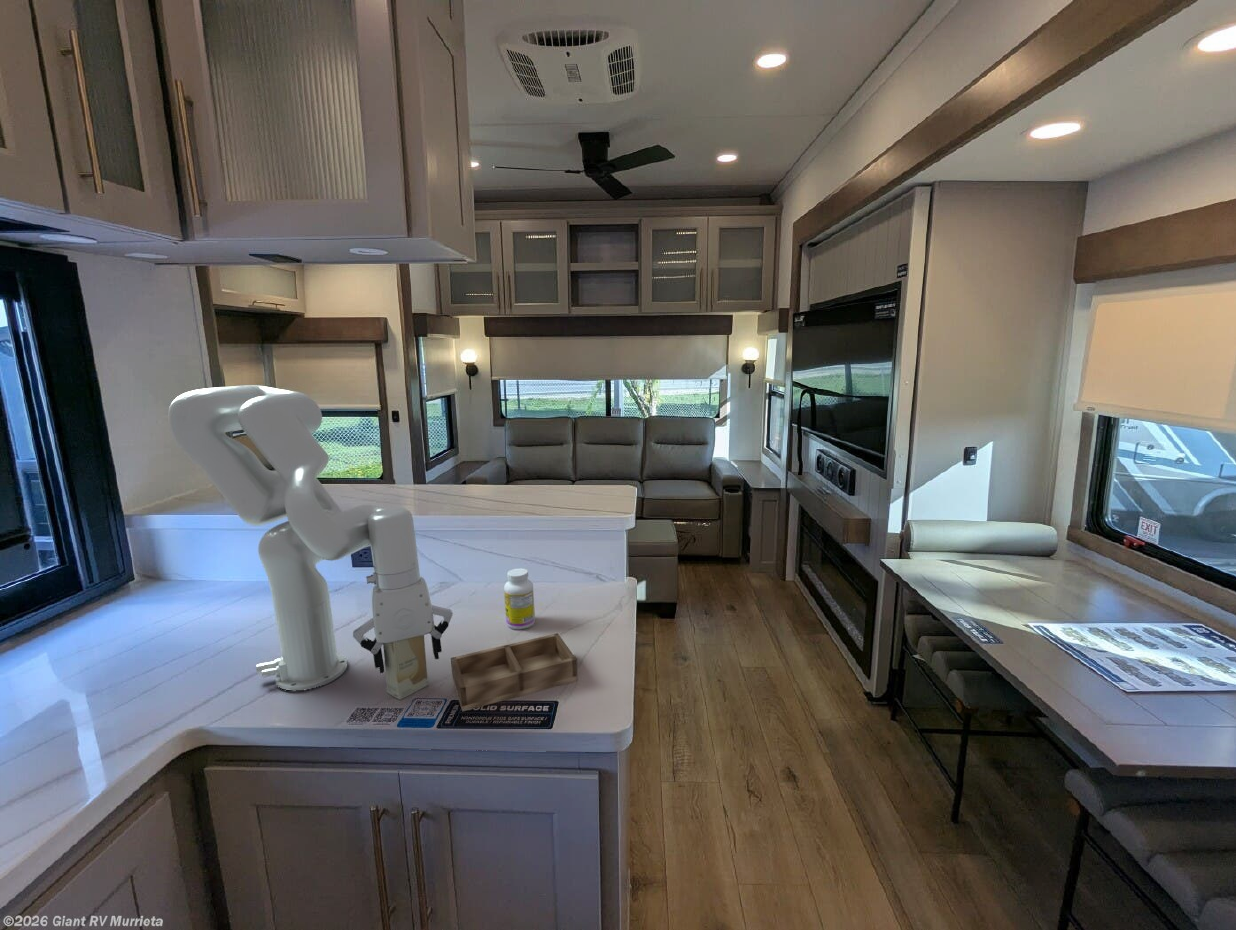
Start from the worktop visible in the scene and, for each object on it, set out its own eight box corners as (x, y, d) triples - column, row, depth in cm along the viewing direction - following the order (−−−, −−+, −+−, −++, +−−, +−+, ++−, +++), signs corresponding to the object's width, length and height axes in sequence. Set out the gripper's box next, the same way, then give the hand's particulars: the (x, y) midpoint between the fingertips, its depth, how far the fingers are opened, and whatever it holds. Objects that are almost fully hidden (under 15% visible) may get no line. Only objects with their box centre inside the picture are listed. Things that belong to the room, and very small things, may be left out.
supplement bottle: (509, 617, 136) (506, 566, 133) (537, 617, 135) (534, 566, 133) (503, 630, 129) (500, 577, 127) (532, 630, 129) (529, 577, 126)
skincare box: (399, 701, 104) (393, 639, 101) (386, 693, 106) (379, 633, 104) (430, 684, 109) (424, 625, 106) (416, 677, 111) (411, 619, 109)
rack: (462, 711, 100) (460, 688, 99) (452, 678, 110) (450, 657, 110) (577, 680, 109) (576, 659, 108) (558, 652, 119) (557, 633, 118)
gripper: (345, 594, 96) (359, 685, 99) (450, 573, 103) (459, 659, 106) (346, 579, 103) (359, 665, 106) (444, 561, 110) (453, 642, 113)
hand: (409, 662), depth 106 cm, fingers open, 9 cm apart
